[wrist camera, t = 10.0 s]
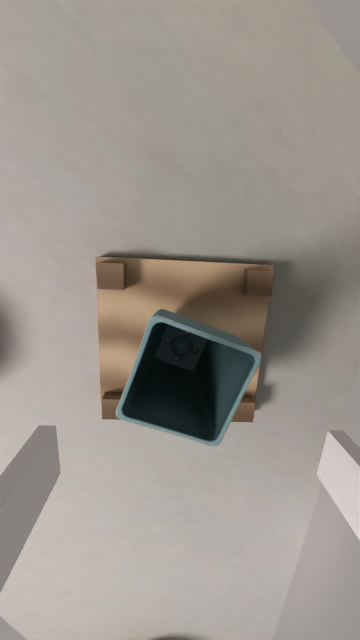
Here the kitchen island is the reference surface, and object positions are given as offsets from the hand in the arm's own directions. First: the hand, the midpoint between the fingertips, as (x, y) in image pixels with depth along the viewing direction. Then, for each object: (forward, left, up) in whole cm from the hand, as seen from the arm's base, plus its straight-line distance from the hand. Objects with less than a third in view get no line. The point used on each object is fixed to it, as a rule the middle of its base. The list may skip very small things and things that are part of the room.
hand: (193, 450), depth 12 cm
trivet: (0, 0, -17) cm, 17 cm away
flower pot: (0, 0, -16) cm, 16 cm away
